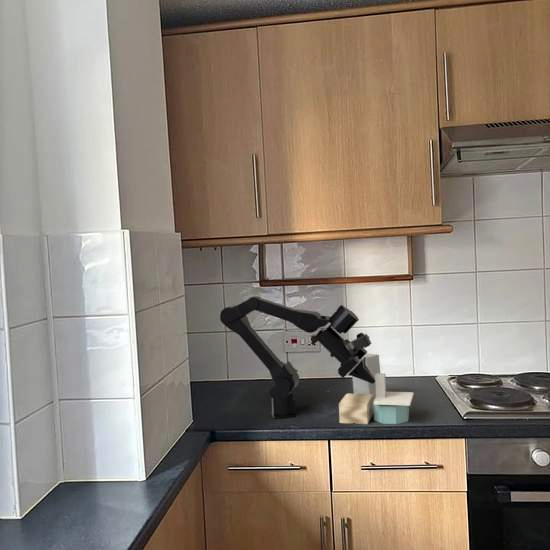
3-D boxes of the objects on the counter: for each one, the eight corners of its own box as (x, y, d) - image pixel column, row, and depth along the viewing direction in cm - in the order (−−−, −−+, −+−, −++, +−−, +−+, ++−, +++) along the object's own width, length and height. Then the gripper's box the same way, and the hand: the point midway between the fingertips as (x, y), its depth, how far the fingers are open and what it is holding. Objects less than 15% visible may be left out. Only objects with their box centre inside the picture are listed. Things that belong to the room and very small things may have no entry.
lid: (373, 404, 166) (372, 378, 166) (379, 394, 178) (378, 369, 177) (410, 405, 163) (409, 379, 163) (413, 395, 175) (412, 370, 174)
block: (339, 422, 170) (338, 403, 169) (347, 411, 181) (346, 393, 181) (367, 424, 167) (366, 404, 167) (373, 412, 179) (373, 394, 178)
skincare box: (383, 399, 193) (381, 354, 193) (369, 403, 190) (367, 357, 189) (365, 395, 200) (363, 351, 200) (352, 398, 197) (350, 354, 196)
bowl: (372, 423, 168) (371, 405, 168) (377, 413, 177) (376, 397, 177) (406, 424, 165) (406, 406, 165) (409, 415, 174) (409, 398, 174)
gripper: (347, 329, 164) (389, 369, 161) (359, 321, 182) (397, 357, 179) (321, 357, 167) (361, 397, 164) (335, 346, 185) (372, 382, 182)
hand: (374, 382), depth 172 cm, fingers closed
